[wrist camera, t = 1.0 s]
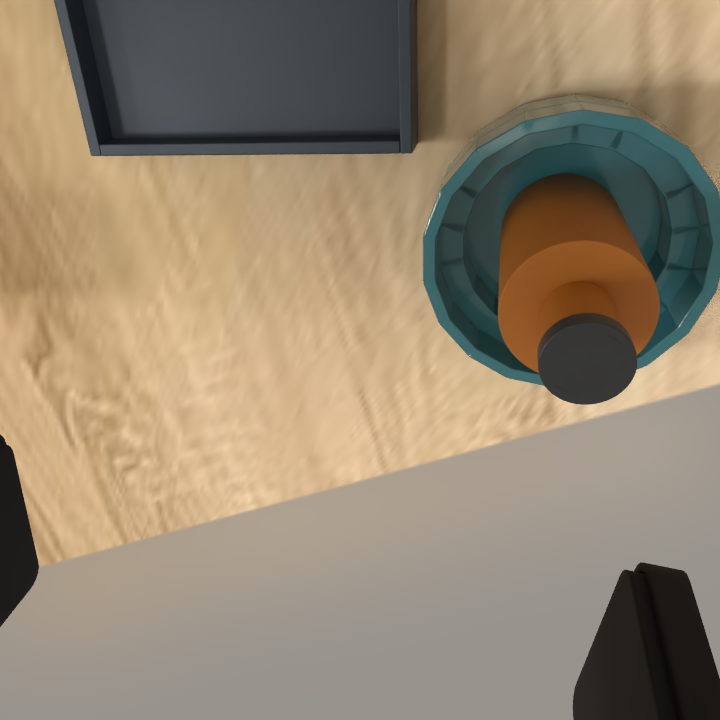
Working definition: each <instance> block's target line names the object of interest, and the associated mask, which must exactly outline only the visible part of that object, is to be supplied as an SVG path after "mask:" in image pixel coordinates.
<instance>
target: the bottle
mask: <svg viewBox="0 0 720 720" xmlns="http://www.w3.org/2000/svg"><path fill="white" fill-rule="evenodd" d="M659 311H660V300H659V294H658V289H657V286H656V284H655V281H654V279H653V277H652V274H651V272H650V270H649V268H648V266H647V264H646V262H645V260H644V258H643V256H642V254H641V252H640V250H639V248H638V246H637V243H636V241H635V239H634V237H633V235H632V233H631V231H630V229H629V227H628V225H627V223H626V221H625V219H624V217H623V215H622V212H621V210H620V208H619V206H618V204H617V202H616V201H615V199H614V197H613V196H612V195H611V193H610V192H609V191H608V190H607V189H606V188H605V187H604V186H602V185H601V184H599V183H598V182H596V181H594V180H592V179H590V178H587V177H585V176H581V175H576V174H557V175H551V176H548V177H545V178H542V179H539V180H537V181H535V182H533V183H532V184H530V185H528V186H527V187H526V188H524V189H523V190H522V191H521V192H520V193H519V194H518V195H517V196H516V197H515V198H514V199H513V201H512V202H511V203H510V205H509V207H508V209H507V210H506V213H505V215H504V218H503V222H502V227H501V243H500V271H499V298H498V322H499V328H500V331H501V334H502V337H503V339H504V341H505V343H506V345H507V347H508V348H509V350H510V351H511V352H512V354H513V355H514V356H515V357H516V358H517V359H518V360H519V361H520V362H522V363H523V364H524V365H525V366H527V367H529V368H530V369H532V370H534V371H536V372H538V373H539V376H540V378H541V380H542V382H543V384H544V385H545V387H546V388H547V389H548V390H549V391H550V392H551V393H552V394H553V395H555V396H557V397H558V398H560V399H562V400H564V401H567V402H570V403H575V404H596V403H601V402H604V401H607V400H609V399H611V398H613V397H615V396H617V395H618V394H619V393H621V392H622V391H623V390H624V389H625V388H626V387H627V386H628V385H629V384H630V382H631V381H632V379H633V377H634V375H635V373H636V369H637V355H638V354H639V353H640V352H641V351H642V350H643V349H644V347H645V346H646V345H647V343H648V342H649V340H650V338H651V337H652V335H653V333H654V331H655V328H656V326H657V322H658V318H659Z"/></svg>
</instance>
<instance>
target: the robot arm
mask: <svg viewBox="0 0 720 720" xmlns="http://www.w3.org/2000/svg"><path fill="white" fill-rule="evenodd" d="M38 569H39V565H38V559H37V555H36V550H35V546H34V541H33V537H32V533H31V528H30V524H29V519H28V515H27V510H26V506H25V502H24V497H23V493H22V488H21V484H20V479H19V475H18V471H17V466H16V462H15V457H14V453H13V450H12V448H11V447H10V446H9V445H6V442H5V439H4V438H3V437H2V436H1V435H0V627H1V625H2V624H3V623H4V622H5V620H6V619H7V618H8V616H9V615H10V614H11V613H12V611H13V610H14V609H15V608H16V606H17V605H18V604H19V602H20V601H21V600H22V599H23V598H24V596H25V595H26V594H27V592H28V591H29V590H30V589H31V587H32V586H33V584H34V582H35V580H36V577H37V574H38ZM573 717H574V720H720V678H719V675H718V672H717V669H716V665H715V662H714V659H713V655H712V652H711V649H710V646H709V642H708V639H707V636H706V632H705V629H704V626H703V623H702V619H701V616H700V613H699V609H698V606H697V603H696V600H695V597H694V593H693V590H692V587H691V583H690V580H689V578H688V576H687V574H686V573H685V572H684V571H682V570H677V569H672V568H667V567H662V566H657V565H652V564H647V563H639V564H638V565H637V567H636V569H635V570H634V572H633V571H629V570H624V571H622V573H621V575H620V577H619V580H618V582H617V585H616V587H615V590H614V592H613V594H612V597H611V599H610V602H609V604H608V607H607V609H606V612H605V614H604V617H603V619H602V622H601V624H600V626H599V629H598V631H597V634H596V636H595V639H594V641H593V644H592V646H591V649H590V651H589V654H588V657H587V659H586V661H585V664H584V666H583V668H582V671H581V674H580V676H579V678H578V681H577V684H576V686H575V691H574V697H573Z"/></svg>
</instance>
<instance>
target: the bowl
mask: <svg viewBox="0 0 720 720" xmlns="http://www.w3.org/2000/svg"><path fill="white" fill-rule="evenodd" d="M557 174H576V175H581V176H585V177H587V178H590V179H592V180H594V181H596V182H598V183H599V184H601V185H602V186H604V187H605V188H606V189H607V190H608V191H609V192H610V193H611V195H612V196H613V197H614V199H615V201H616V202H617V204H618V206H619V208H620V210H621V212H622V215H623V217H624V219H625V221H626V223H627V225H628V227H629V229H630V231H631V233H632V235H633V237H634V239H635V241H636V243H637V246H638V248H639V250H640V252H641V254H642V256H643V258H644V260H645V262H646V264H647V266H648V268H649V270H650V272H651V274H652V277H653V279H654V281H655V284H656V286H657V289H658V294H659V300H660V311H659V318H658V322H657V326H656V328H655V331H654V333H653V335H652V337H651V338H650V340H649V342H648V343H647V345H646V346H645V347H644V349H643V350H642V351H641V352H640V353H639V354H638V355H637V369H639V368H642V367H644V366H647V364H650V363H651V362H653V361H654V360H655V359H656V358H658V357H659V356H660V355H661V354H663V353H664V352H665V351H667V350H668V349H669V348H670V347H672V346H673V345H674V344H676V343H677V342H678V341H679V340H681V339H682V338H683V337H684V336H686V335H687V333H689V332H690V330H691V329H692V327H693V326H694V324H695V323H696V321H697V320H698V318H699V317H700V315H701V314H702V312H703V311H704V309H705V308H706V306H707V305H708V303H709V302H710V300H711V299H712V297H713V296H714V294H715V293H716V290H717V287H718V282H719V278H720V195H719V191H718V189H717V187H716V186H715V185H714V183H713V182H712V180H711V179H710V177H709V176H708V175H707V173H706V172H705V170H704V169H703V167H702V166H701V165H700V163H699V162H698V160H697V159H696V157H695V156H694V154H693V153H692V152H691V150H690V149H689V148H688V147H687V146H686V145H685V144H684V143H683V142H682V141H681V140H680V139H679V138H678V137H677V136H675V135H674V134H673V133H672V132H671V131H670V130H669V129H668V128H667V127H665V126H664V125H662V124H661V123H659V122H657V121H656V120H654V119H652V118H651V117H649V116H647V115H646V114H644V113H642V112H641V111H639V110H637V109H636V108H634V107H633V106H631V105H629V104H628V103H624V102H623V101H616V100H610V99H604V98H598V97H591V96H585V95H579V94H575V95H573V94H571V95H566V96H561V97H556V98H551V99H546V100H541V101H536V102H531V103H526V104H524V105H521V106H519V107H517V108H516V109H514V110H512V111H511V112H509V113H507V114H506V115H504V116H502V117H501V118H499V119H497V120H496V121H494V122H492V123H490V124H489V125H487V126H485V127H484V128H482V129H481V130H480V131H478V132H477V134H476V135H475V136H474V137H473V138H472V139H471V141H470V142H469V143H468V144H467V145H466V147H465V148H464V149H463V150H462V151H461V152H460V154H459V155H458V156H457V157H456V158H455V160H454V161H453V162H452V163H451V164H450V166H449V167H448V169H447V171H446V174H445V177H444V179H443V182H442V185H441V187H440V190H439V193H438V195H437V198H436V201H435V203H434V206H433V209H432V212H431V215H430V218H429V220H428V223H427V226H426V229H425V232H424V237H423V281H424V286H425V288H426V291H427V293H428V296H429V299H430V301H431V304H432V306H433V309H434V311H435V314H436V317H437V319H438V322H439V323H440V325H441V326H442V327H443V328H444V329H445V330H446V331H447V333H448V334H449V335H450V336H451V337H452V338H453V339H454V340H455V342H456V343H457V344H458V345H459V346H460V347H461V348H462V349H463V350H464V352H465V353H466V354H467V355H468V356H469V357H471V358H473V359H474V360H476V361H478V362H480V363H482V364H483V365H485V366H487V367H489V368H490V369H492V370H494V371H496V372H498V373H499V374H501V375H503V376H505V377H508V378H510V379H515V380H520V381H525V382H530V383H534V384H539V385H544V384H543V382H542V380H541V378H540V376H539V373H538V372H536V371H534V370H532V369H530V368H529V367H527V366H525V365H524V364H523V363H522V362H520V361H519V360H518V359H517V358H516V357H515V356H514V355H513V354H512V352H511V351H510V350H509V348H508V347H507V345H506V343H505V341H504V339H503V337H502V334H501V331H500V328H499V322H498V298H499V271H500V243H501V227H502V222H503V218H504V215H505V213H506V210H507V209H508V207H509V205H510V203H511V202H512V201H513V199H514V198H515V197H516V196H517V195H518V194H519V193H520V192H521V191H522V190H523V189H524V188H526V187H527V186H528V185H530V184H532V183H533V182H535V181H537V180H539V179H542V178H545V177H548V176H551V175H557ZM637 369H636V370H637ZM544 386H545V385H544Z"/></svg>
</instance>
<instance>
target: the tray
mask: <svg viewBox="0 0 720 720" xmlns="http://www.w3.org/2000/svg"><path fill="white" fill-rule="evenodd" d="M54 2H55V6H56V10H57V15H58V19H59V23H60V27H61V31H62V35H63V40H64V44H65V48H66V52H67V56H68V60H69V65H70V69H71V73H72V77H73V81H74V85H75V90H76V94H77V98H78V102H79V106H80V110H81V115H82V119H83V123H84V127H85V131H86V135H87V140H88V144H89V148H90V152H91V156H142V155H266V154H390V153H400V152H401V153H412V152H413V150H414V149H415V147H416V145H417V143H418V92H417V0H54Z"/></svg>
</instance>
